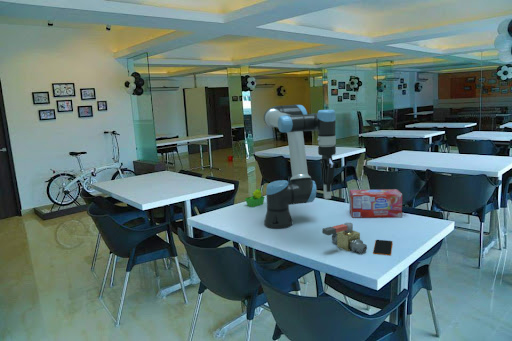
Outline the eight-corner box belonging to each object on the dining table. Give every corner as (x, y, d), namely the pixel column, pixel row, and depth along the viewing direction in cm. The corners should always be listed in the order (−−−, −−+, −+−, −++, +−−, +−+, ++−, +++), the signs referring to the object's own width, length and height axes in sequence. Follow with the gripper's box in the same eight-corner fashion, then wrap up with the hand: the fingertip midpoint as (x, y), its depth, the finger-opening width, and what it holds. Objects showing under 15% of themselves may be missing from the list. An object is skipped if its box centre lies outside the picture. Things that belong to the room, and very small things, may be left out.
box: (397, 211, 228) (397, 188, 225) (402, 218, 215) (403, 193, 213) (348, 211, 231) (348, 189, 228) (351, 218, 218) (351, 194, 216)
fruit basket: (257, 202, 260) (256, 185, 258) (267, 204, 254) (266, 187, 251) (244, 206, 252) (243, 188, 250) (254, 208, 246) (253, 190, 244)
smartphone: (372, 254, 169) (372, 252, 169) (375, 241, 185) (375, 239, 184) (391, 256, 167) (391, 254, 166) (392, 242, 182) (392, 240, 182)
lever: (322, 236, 171) (322, 228, 171) (348, 229, 179) (348, 222, 178) (327, 239, 168) (327, 230, 168) (354, 232, 176) (354, 224, 175)
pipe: (329, 245, 184) (329, 228, 182) (341, 241, 187) (340, 225, 186) (356, 257, 168) (356, 239, 167) (368, 254, 172) (369, 235, 170)
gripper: (313, 144, 178) (314, 195, 183) (323, 148, 165) (324, 202, 169) (329, 143, 179) (330, 193, 184) (340, 146, 166) (341, 201, 171)
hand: (327, 197), depth 177 cm, fingers closed
